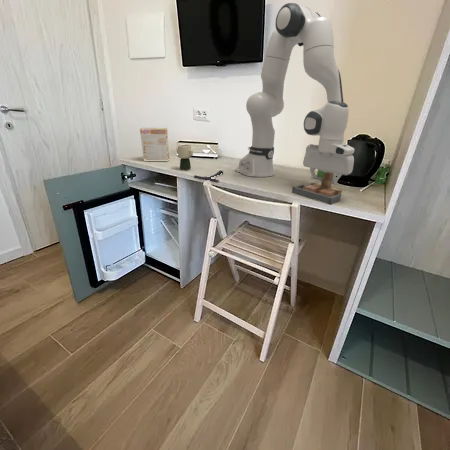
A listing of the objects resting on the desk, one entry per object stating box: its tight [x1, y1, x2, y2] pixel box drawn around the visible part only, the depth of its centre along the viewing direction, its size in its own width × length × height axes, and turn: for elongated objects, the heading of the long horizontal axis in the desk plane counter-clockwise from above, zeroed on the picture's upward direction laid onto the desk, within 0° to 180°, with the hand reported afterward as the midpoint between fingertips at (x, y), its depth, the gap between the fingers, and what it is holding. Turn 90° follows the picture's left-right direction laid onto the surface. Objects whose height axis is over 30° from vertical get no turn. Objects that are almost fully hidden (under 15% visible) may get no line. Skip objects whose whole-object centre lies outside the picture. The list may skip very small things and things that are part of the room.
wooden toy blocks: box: [309, 172, 343, 196], centre depth 110 cm, size 13×3×9 cm, turn 41°
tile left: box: [304, 184, 320, 194], centre depth 111 cm, size 4×4×3 cm
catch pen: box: [291, 183, 342, 205], centre depth 107 cm, size 18×7×2 cm, turn 41°
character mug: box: [176, 144, 194, 170], centre depth 143 cm, size 11×7×13 cm, turn 59°
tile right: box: [319, 189, 335, 197], centre depth 107 cm, size 4×4×3 cm
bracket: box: [193, 170, 224, 183], centre depth 132 cm, size 14×15×3 cm
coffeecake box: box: [139, 127, 170, 160], centre depth 160 cm, size 15×7×20 cm, turn 91°
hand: (323, 181), depth 108 cm, fingers open, 8 cm apart
